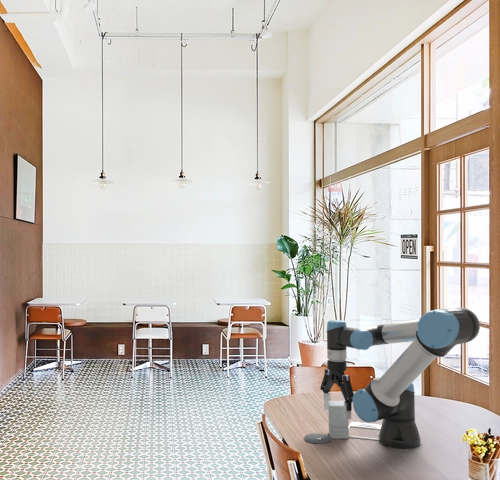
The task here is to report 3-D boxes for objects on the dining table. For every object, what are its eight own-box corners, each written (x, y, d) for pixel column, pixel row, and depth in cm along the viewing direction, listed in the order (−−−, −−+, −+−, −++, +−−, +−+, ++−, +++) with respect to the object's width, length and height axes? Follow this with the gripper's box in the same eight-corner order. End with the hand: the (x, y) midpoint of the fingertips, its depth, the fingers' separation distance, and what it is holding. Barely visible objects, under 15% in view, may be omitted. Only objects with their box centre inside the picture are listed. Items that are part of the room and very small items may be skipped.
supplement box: (347, 432, 203) (346, 400, 204) (348, 439, 196) (348, 405, 196) (328, 432, 204) (327, 400, 204) (329, 438, 197) (328, 405, 197)
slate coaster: (335, 441, 194) (335, 439, 194) (313, 445, 190) (313, 444, 190) (321, 433, 203) (321, 431, 203) (299, 437, 199) (299, 435, 199)
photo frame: (386, 424, 210) (381, 439, 193) (386, 427, 210) (381, 442, 193) (351, 421, 215) (343, 434, 199) (351, 423, 215) (343, 437, 198)
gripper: (311, 355, 211) (312, 406, 210) (348, 366, 188) (348, 424, 188) (326, 353, 214) (327, 404, 213) (364, 364, 192) (365, 421, 191)
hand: (337, 414), depth 201 cm, fingers open, 13 cm apart
